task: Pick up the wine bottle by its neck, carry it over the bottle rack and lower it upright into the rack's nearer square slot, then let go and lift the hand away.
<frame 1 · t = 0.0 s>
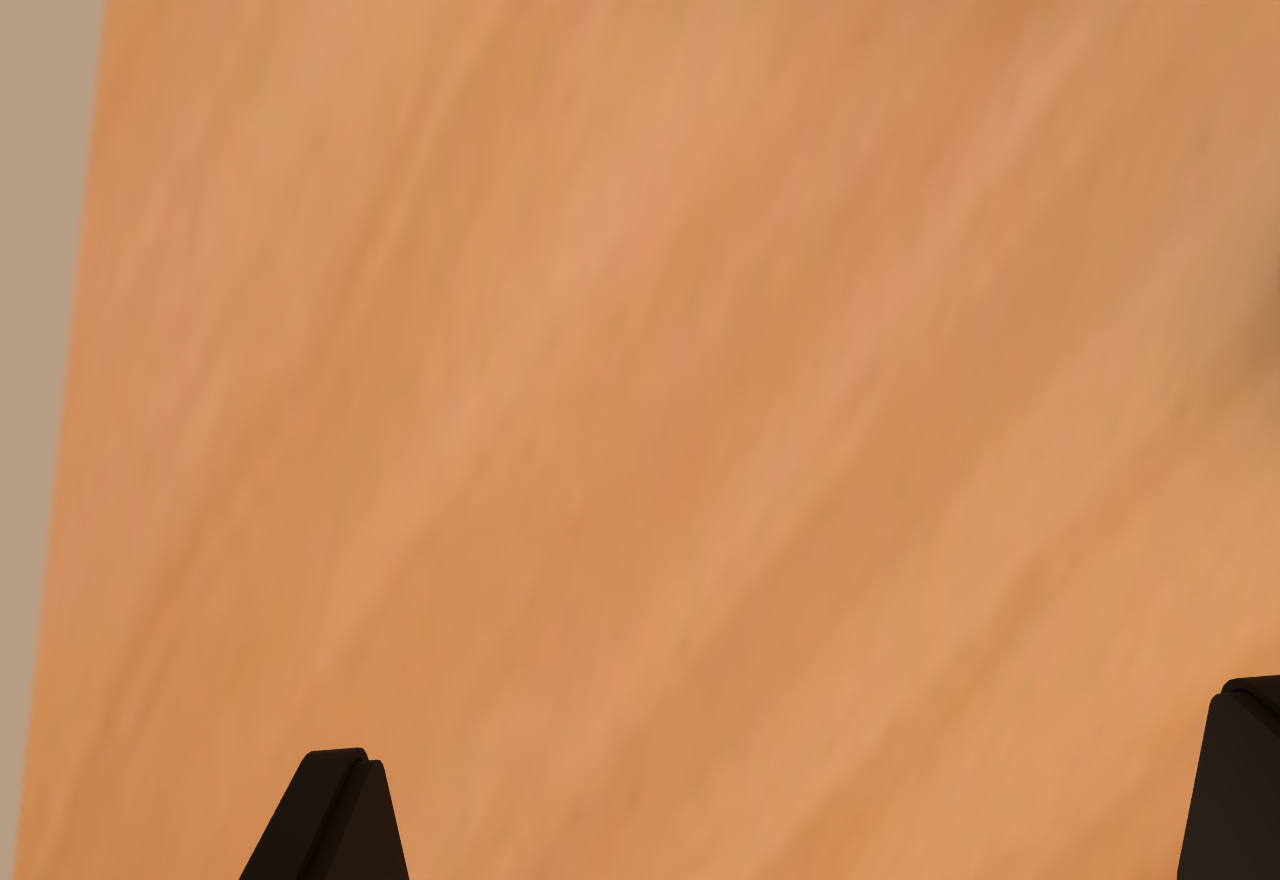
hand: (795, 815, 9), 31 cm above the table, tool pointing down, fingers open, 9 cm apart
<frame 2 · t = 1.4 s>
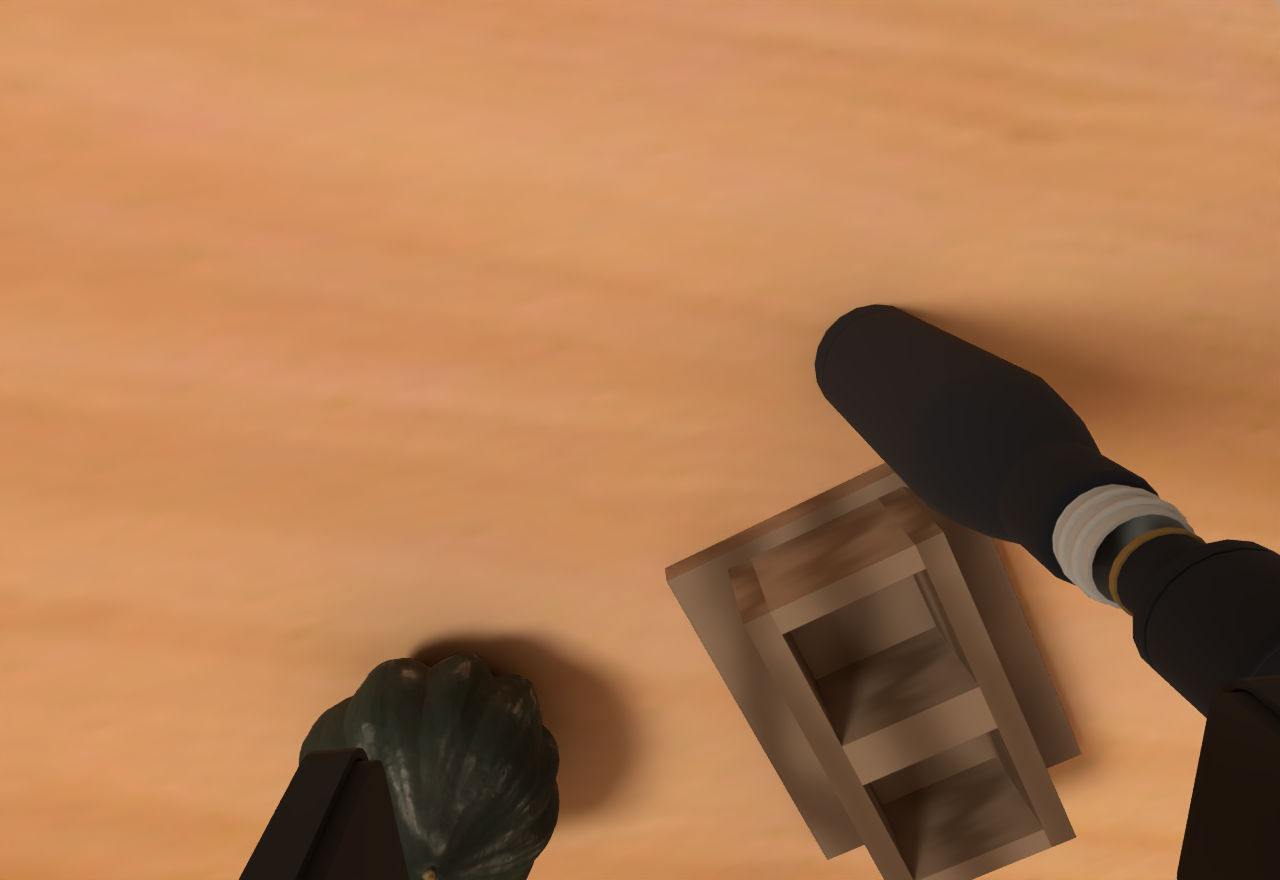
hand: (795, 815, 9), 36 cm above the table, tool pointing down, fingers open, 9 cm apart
wine bottle: (870, 360, 45), on the table
bottle rack: (876, 656, 51), on the table
squash: (451, 715, 51), on the table
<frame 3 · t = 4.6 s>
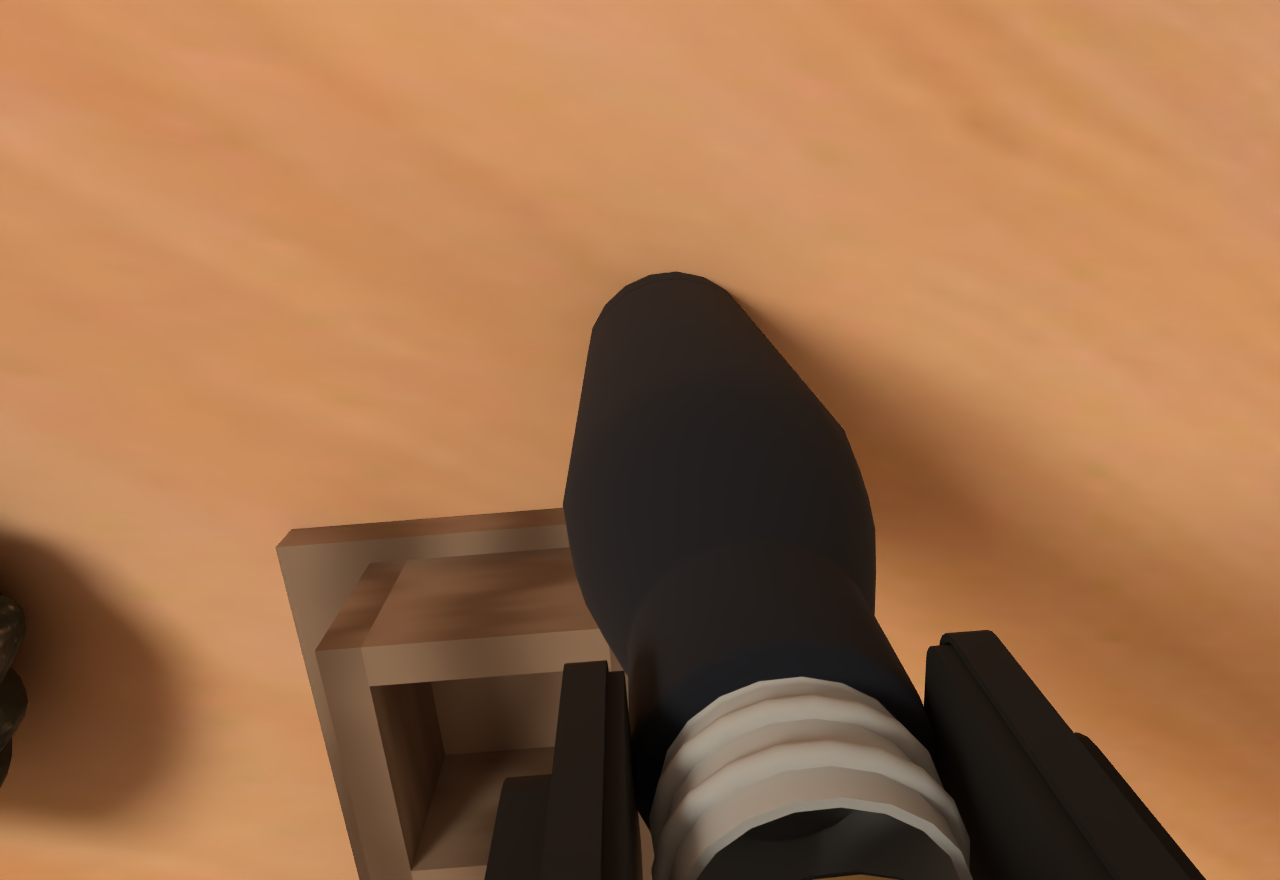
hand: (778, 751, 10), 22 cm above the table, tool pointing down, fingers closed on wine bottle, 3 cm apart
wine bottle: (671, 354, 31), on the table, touching gripper
bottle rack: (544, 750, 37), on the table
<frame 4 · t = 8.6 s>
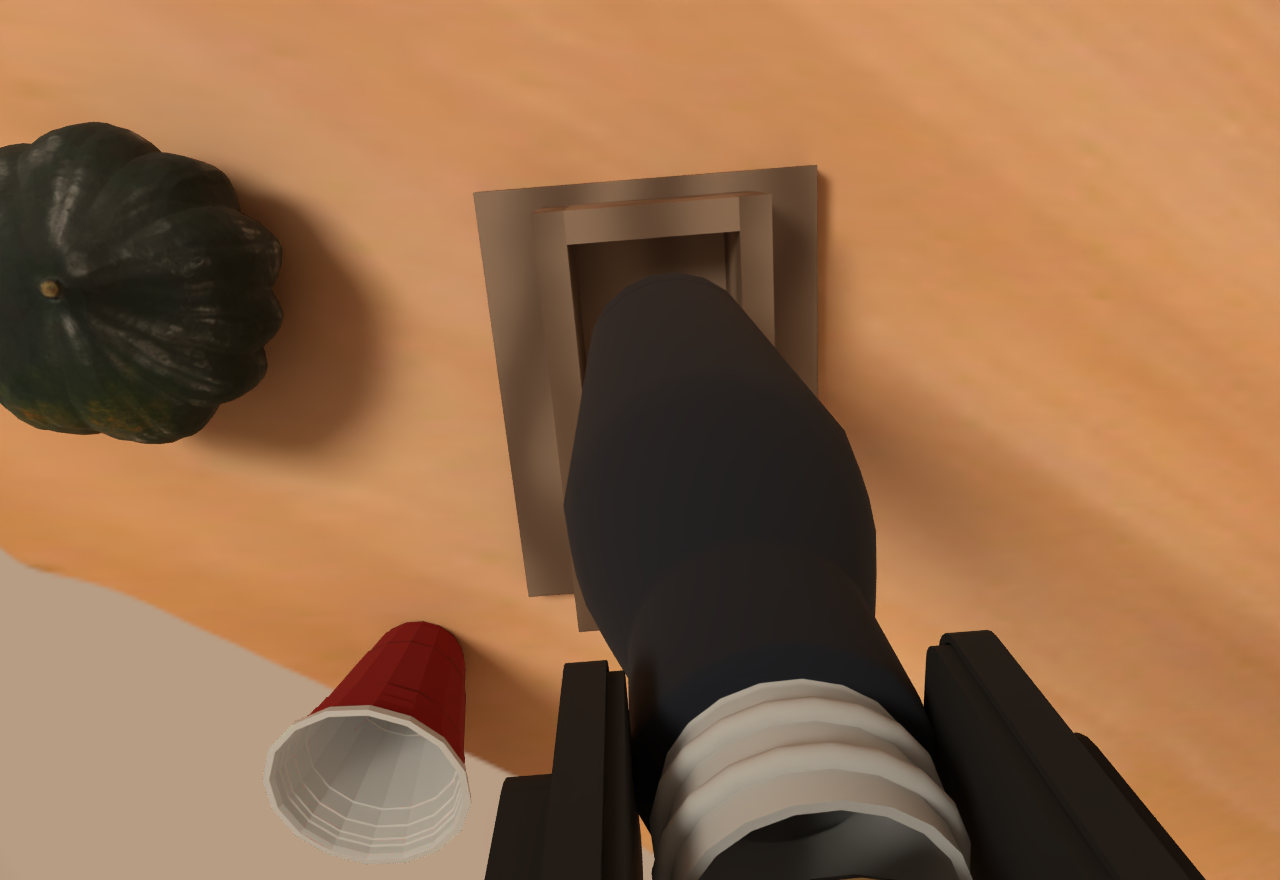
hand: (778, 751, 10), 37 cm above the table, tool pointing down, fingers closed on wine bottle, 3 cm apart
wine bottle: (671, 354, 31), point 15 cm above the table, touching gripper
bottle rack: (659, 392, 47), on the table
plastic cup: (420, 658, 53), on the table
squash: (181, 272, 44), on the table
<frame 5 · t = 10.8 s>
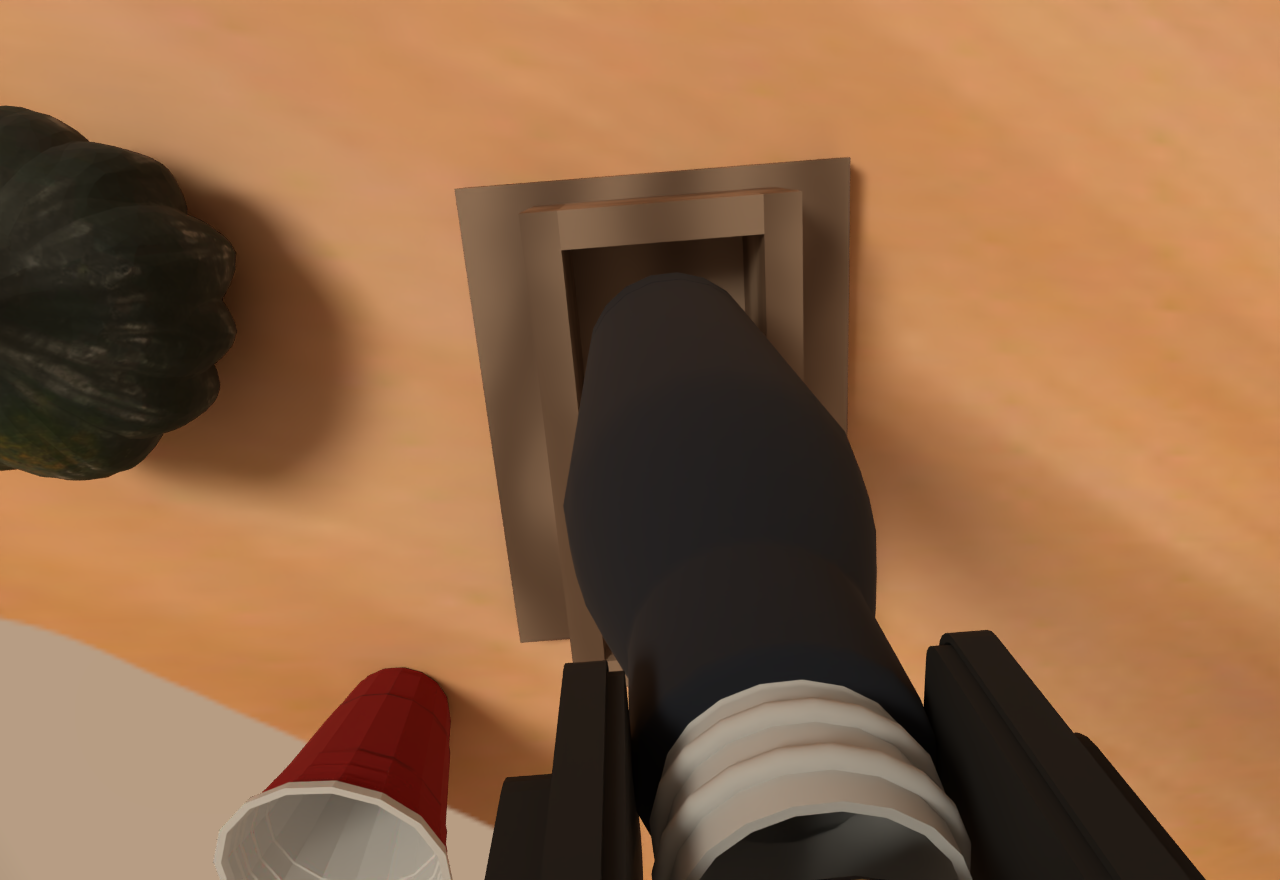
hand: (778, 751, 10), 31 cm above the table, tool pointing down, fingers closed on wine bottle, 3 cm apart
wine bottle: (671, 355, 31), point 10 cm above the table, touching gripper
bottle rack: (667, 414, 42), on the table
plastic cup: (400, 707, 47), on the table
squash: (124, 279, 39), on the table
when the fingers open (25 cm above the table, at t = 12.7 s): wine bottle stays where it is, resting on bottle rack.
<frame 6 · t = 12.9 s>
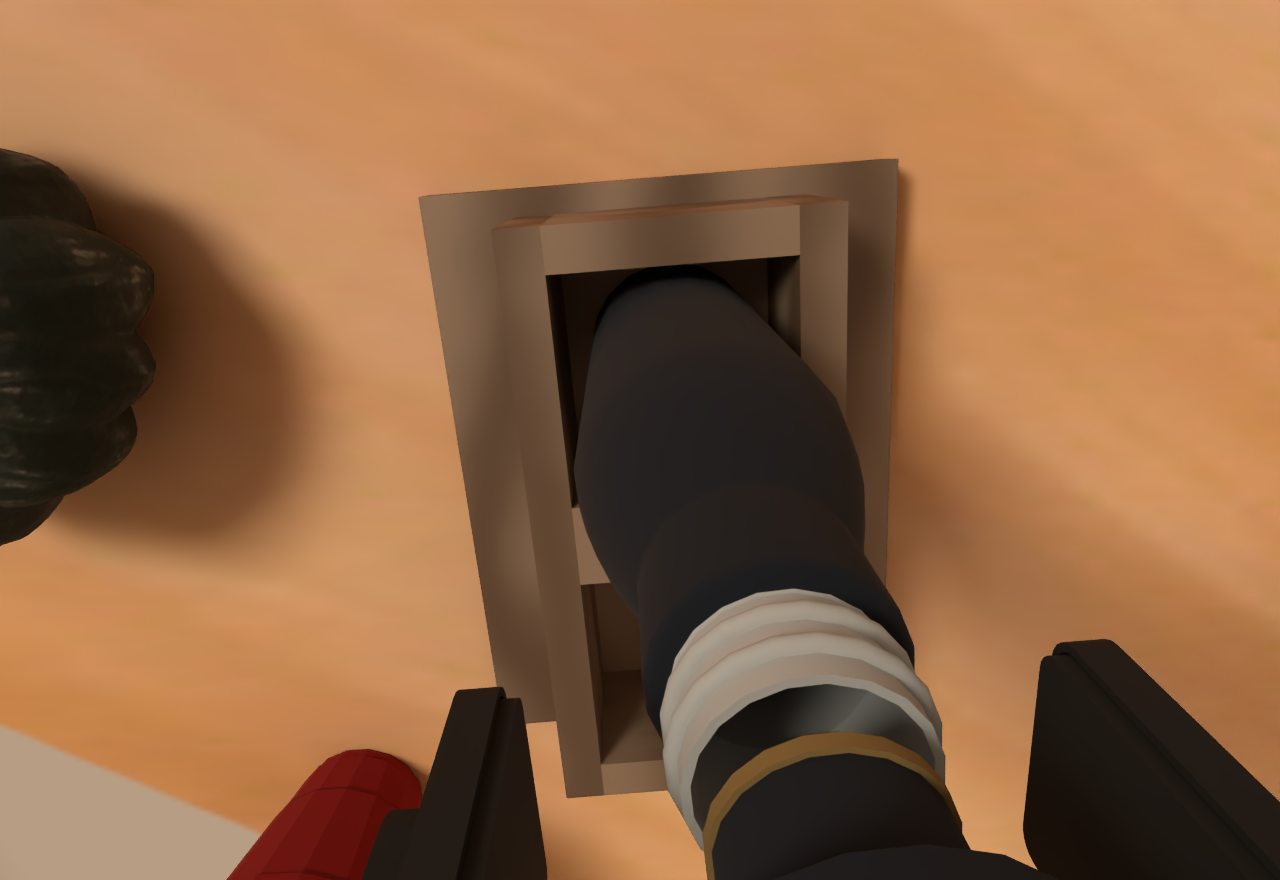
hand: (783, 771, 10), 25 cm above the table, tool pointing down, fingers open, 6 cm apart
wine bottle: (672, 342, 32), point 1 cm above the table, touching bottle rack
bottle rack: (675, 461, 35), on the table
plastic cup: (366, 793, 41), on the table
squash: (27, 304, 33), on the table
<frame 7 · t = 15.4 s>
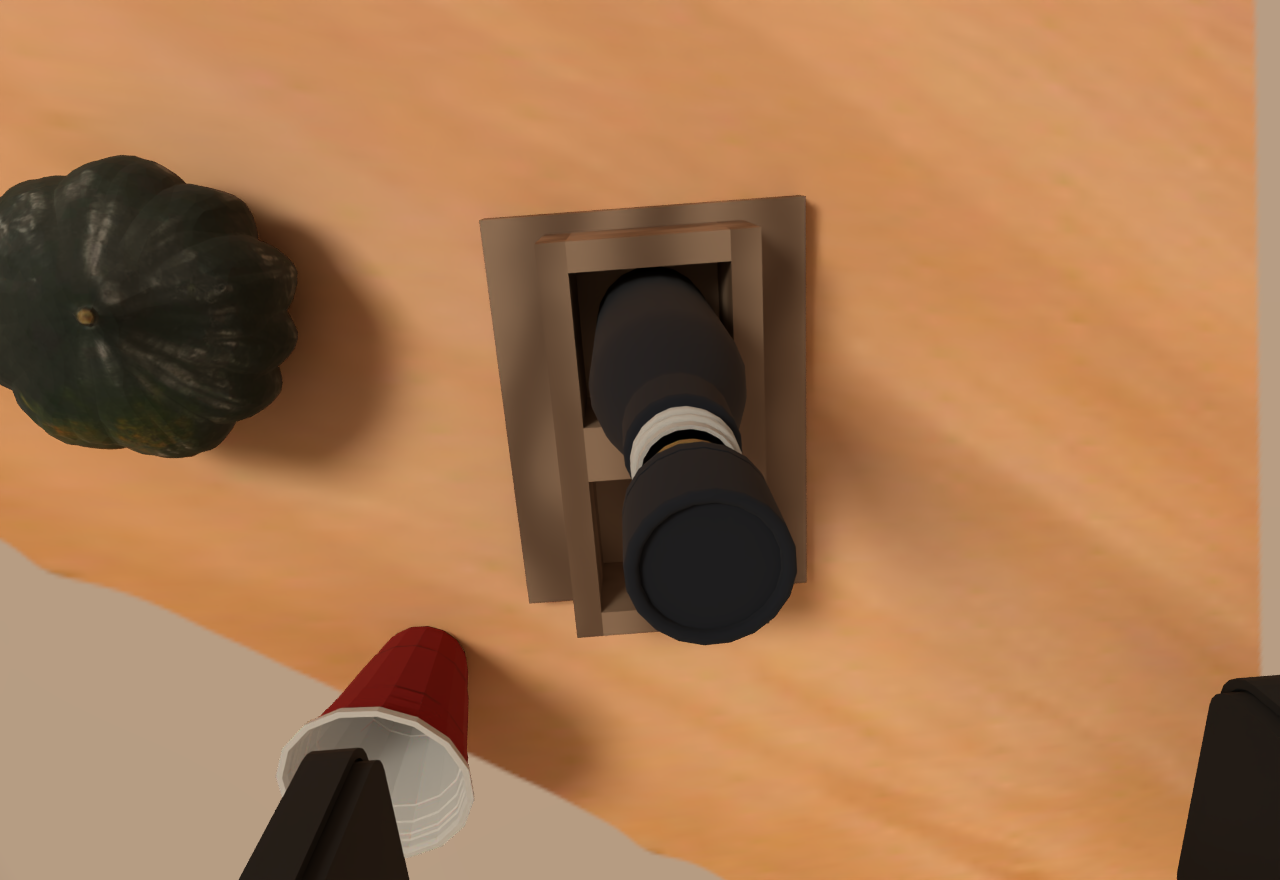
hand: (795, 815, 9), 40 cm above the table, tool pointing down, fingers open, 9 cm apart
wine bottle: (652, 321, 46), point 1 cm above the table, touching bottle rack
bottle rack: (655, 408, 49), on the table
plastic cup: (424, 662, 55), on the table
squash: (200, 293, 46), on the table
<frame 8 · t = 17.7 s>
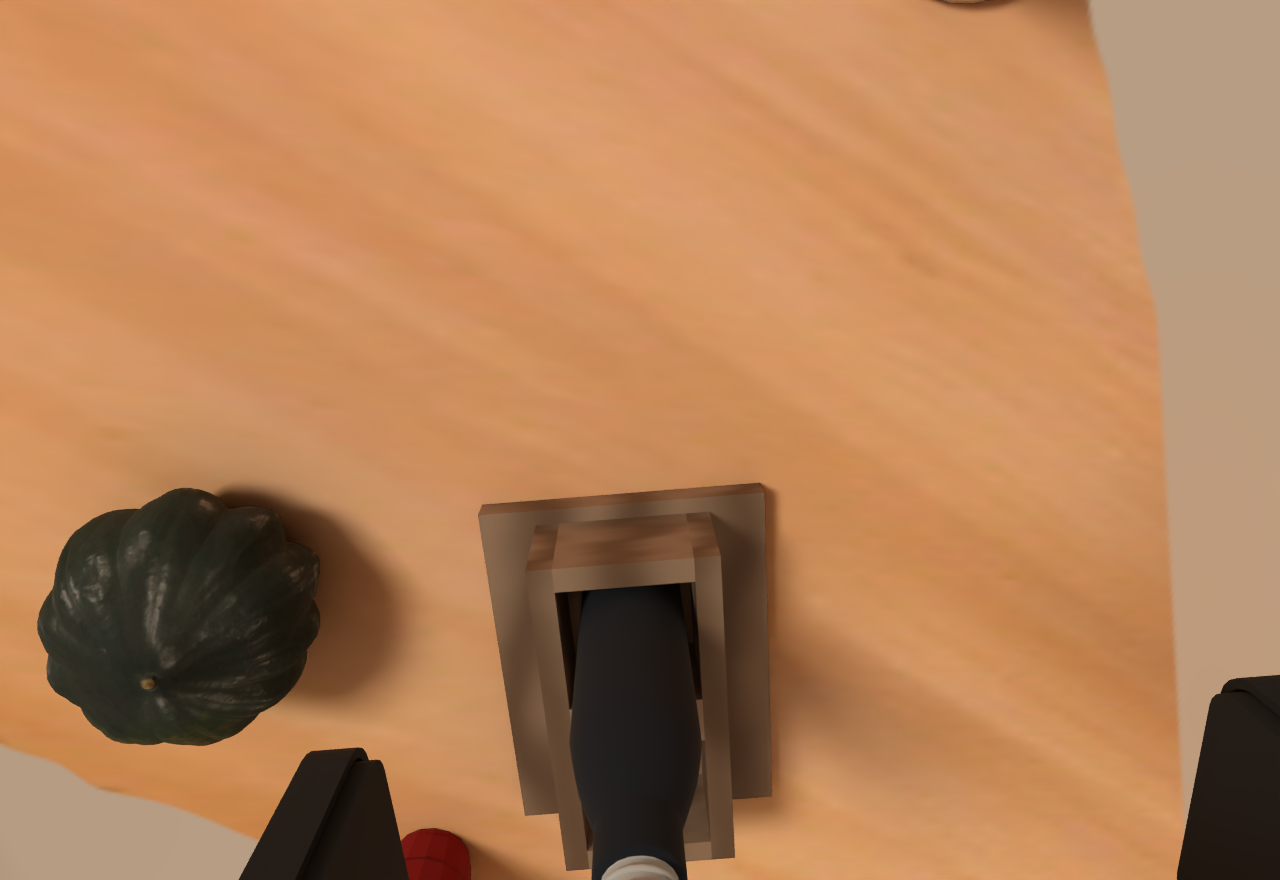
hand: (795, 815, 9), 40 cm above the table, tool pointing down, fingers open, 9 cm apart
wine bottle: (631, 590, 52), point 1 cm above the table, touching bottle rack
bottle rack: (635, 652, 55), on the table
plastic cup: (432, 856, 61), on the table
squash: (233, 565, 53), on the table
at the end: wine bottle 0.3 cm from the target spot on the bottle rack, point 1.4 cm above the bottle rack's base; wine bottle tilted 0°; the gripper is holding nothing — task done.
